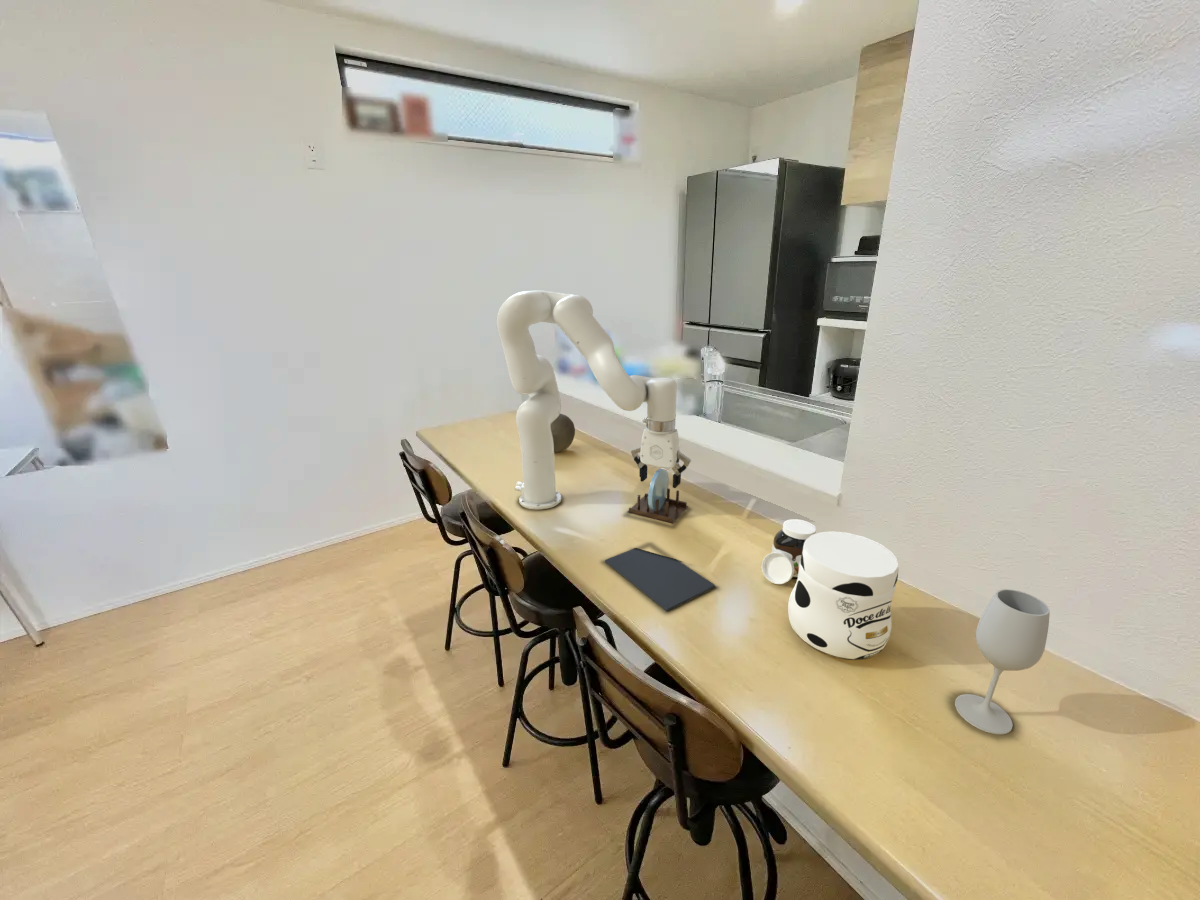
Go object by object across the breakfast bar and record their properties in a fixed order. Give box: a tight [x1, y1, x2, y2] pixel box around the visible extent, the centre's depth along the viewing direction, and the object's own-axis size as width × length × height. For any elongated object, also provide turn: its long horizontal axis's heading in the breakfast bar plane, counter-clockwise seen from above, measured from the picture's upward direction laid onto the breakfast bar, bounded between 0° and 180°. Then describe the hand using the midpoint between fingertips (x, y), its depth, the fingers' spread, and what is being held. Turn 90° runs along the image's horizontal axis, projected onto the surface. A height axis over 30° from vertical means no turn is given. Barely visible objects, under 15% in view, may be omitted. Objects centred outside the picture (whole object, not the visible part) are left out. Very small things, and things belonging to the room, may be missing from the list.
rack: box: [626, 484, 689, 525], centre depth 139 cm, size 14×12×6 cm
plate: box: [647, 468, 670, 511], centre depth 138 cm, size 1×12×12 cm, turn 150°
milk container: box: [787, 530, 899, 661], centre depth 90 cm, size 17×17×18 cm
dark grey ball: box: [551, 413, 576, 453], centre depth 184 cm, size 14×14×15 cm
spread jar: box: [761, 518, 817, 585], centre depth 109 cm, size 12×11×12 cm
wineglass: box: [954, 588, 1051, 736], centre depth 73 cm, size 8×8×21 cm
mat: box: [604, 547, 716, 612], centre depth 112 cm, size 22×14×1 cm, turn 34°
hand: (659, 483), depth 137 cm, fingers open, 9 cm apart
